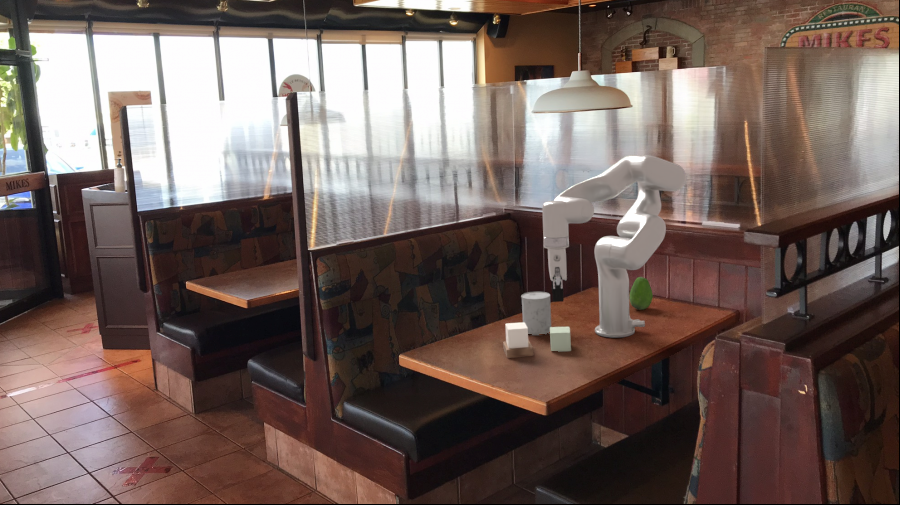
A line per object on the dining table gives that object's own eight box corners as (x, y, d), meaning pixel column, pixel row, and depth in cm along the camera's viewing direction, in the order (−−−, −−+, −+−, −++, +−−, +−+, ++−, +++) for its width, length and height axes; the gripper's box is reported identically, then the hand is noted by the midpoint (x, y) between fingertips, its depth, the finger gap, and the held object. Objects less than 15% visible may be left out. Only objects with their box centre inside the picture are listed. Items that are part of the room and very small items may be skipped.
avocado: (648, 313, 254) (648, 280, 251) (626, 311, 258) (626, 278, 255) (655, 307, 260) (655, 274, 258) (634, 305, 264) (633, 273, 262)
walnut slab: (528, 348, 228) (528, 339, 227) (533, 357, 220) (533, 347, 219) (503, 350, 227) (503, 341, 227) (507, 359, 219) (506, 350, 219)
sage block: (569, 344, 227) (569, 326, 226) (570, 351, 221) (570, 332, 220) (550, 345, 228) (549, 327, 227) (551, 351, 222) (550, 333, 221)
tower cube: (525, 340, 226) (524, 322, 225) (528, 347, 220) (527, 328, 219) (506, 342, 226) (505, 323, 224) (508, 348, 220) (508, 329, 218)
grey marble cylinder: (555, 327, 245) (553, 292, 243) (546, 336, 237) (545, 299, 234) (528, 325, 249) (526, 291, 247) (519, 334, 241) (517, 298, 238)
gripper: (570, 247, 209) (571, 304, 212) (567, 236, 226) (568, 289, 229) (543, 247, 210) (545, 305, 213) (543, 237, 227) (544, 290, 230)
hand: (557, 297), depth 221 cm, fingers open, 9 cm apart
